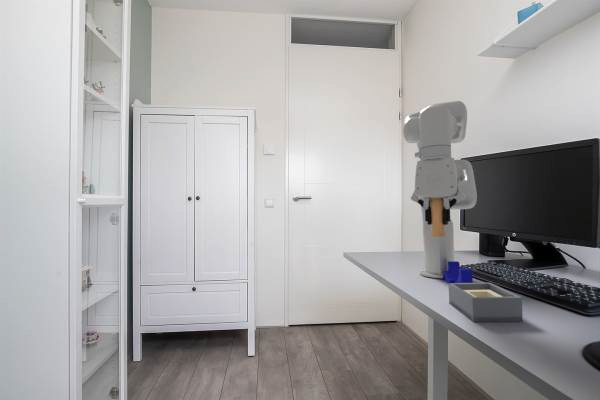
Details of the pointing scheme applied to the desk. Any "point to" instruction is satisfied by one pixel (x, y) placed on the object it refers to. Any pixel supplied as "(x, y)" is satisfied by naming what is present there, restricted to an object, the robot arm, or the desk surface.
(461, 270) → the cable clip
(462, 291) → the box
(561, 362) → the desk surface
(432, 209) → the peg
